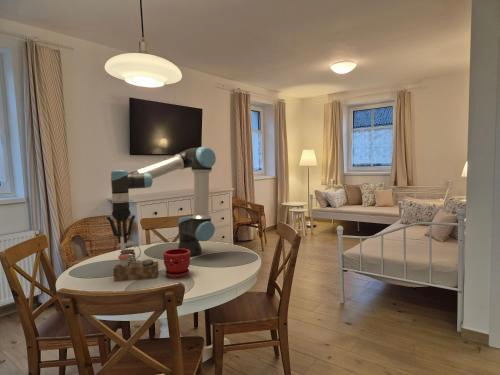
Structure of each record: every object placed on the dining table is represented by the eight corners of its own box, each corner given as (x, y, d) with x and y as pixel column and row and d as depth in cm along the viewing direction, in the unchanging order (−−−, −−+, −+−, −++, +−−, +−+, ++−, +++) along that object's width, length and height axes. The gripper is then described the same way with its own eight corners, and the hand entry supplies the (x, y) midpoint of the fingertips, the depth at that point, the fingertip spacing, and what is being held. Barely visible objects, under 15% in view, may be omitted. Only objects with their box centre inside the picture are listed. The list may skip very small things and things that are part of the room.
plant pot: (185, 279, 153) (184, 255, 152) (160, 278, 155) (158, 254, 154) (195, 270, 165) (194, 247, 164) (171, 269, 168) (170, 247, 167)
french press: (118, 267, 174) (115, 222, 172) (140, 264, 178) (138, 220, 176) (118, 273, 165) (115, 225, 163) (142, 269, 169) (139, 223, 167)
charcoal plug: (154, 272, 162) (153, 259, 162) (153, 276, 157) (152, 262, 156) (143, 273, 161) (143, 259, 161) (142, 277, 156) (141, 263, 156)
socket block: (158, 272, 163) (158, 261, 163) (157, 277, 157) (156, 265, 156) (117, 276, 160) (116, 264, 160) (114, 281, 153) (113, 269, 153)
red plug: (131, 267, 160) (130, 253, 160) (129, 271, 155) (128, 256, 154) (120, 268, 159) (119, 254, 159) (118, 272, 154) (117, 257, 154)
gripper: (104, 203, 150) (107, 252, 151) (133, 202, 152) (135, 250, 154) (108, 201, 157) (111, 248, 159) (136, 200, 159) (138, 246, 161)
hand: (123, 249), depth 156 cm, fingers closed
